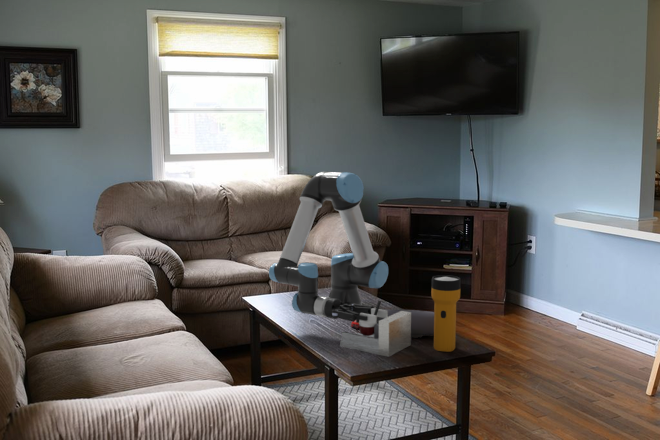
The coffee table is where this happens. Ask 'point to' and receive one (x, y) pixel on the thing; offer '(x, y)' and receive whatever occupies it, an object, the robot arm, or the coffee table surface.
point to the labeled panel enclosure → (383, 336)
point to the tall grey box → (376, 330)
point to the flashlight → (445, 310)
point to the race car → (354, 324)
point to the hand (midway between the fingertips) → (381, 317)
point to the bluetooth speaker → (417, 321)
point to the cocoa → (368, 324)
